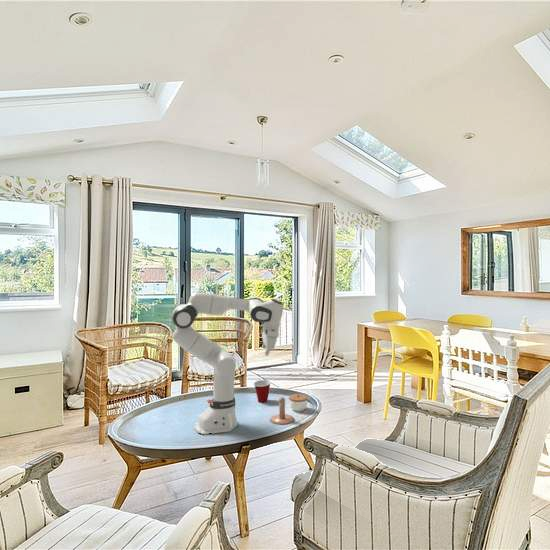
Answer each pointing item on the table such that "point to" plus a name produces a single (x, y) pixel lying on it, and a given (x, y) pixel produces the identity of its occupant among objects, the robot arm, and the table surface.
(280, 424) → the coaster
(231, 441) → the table surface
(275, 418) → the lid
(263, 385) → the plastic cup
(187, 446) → the table surface
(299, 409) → the lidded jar
